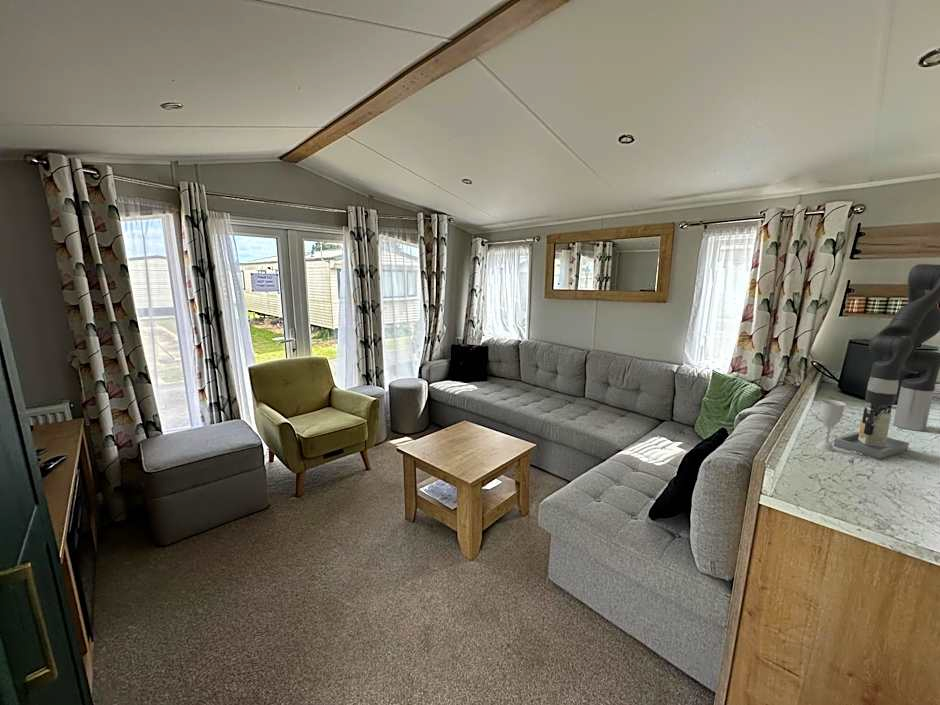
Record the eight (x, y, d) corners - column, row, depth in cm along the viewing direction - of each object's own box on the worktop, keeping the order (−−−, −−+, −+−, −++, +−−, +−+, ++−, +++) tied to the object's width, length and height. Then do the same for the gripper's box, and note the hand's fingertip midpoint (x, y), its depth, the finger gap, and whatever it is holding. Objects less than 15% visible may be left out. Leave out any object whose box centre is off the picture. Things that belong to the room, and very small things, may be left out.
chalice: (842, 453, 140) (851, 406, 136) (820, 451, 141) (829, 404, 138) (828, 445, 147) (836, 399, 144) (808, 443, 148) (815, 398, 145)
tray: (861, 437, 154) (862, 430, 153) (907, 450, 142) (909, 442, 142) (833, 445, 146) (835, 438, 146) (880, 460, 134) (881, 452, 134)
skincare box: (878, 441, 145) (884, 410, 143) (886, 446, 141) (892, 414, 139) (856, 439, 147) (862, 408, 145) (863, 443, 143) (869, 412, 141)
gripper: (877, 385, 146) (869, 426, 149) (858, 389, 141) (850, 432, 144) (905, 390, 140) (896, 433, 143) (886, 395, 134) (877, 439, 137)
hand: (873, 432), depth 143 cm, fingers closed on skincare box, 7 cm apart
